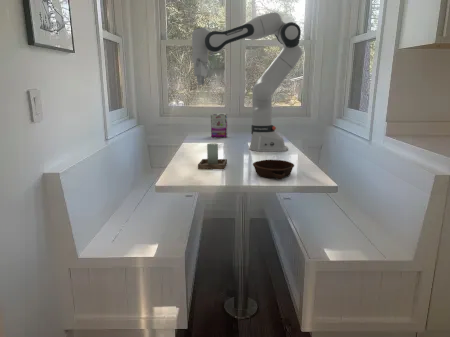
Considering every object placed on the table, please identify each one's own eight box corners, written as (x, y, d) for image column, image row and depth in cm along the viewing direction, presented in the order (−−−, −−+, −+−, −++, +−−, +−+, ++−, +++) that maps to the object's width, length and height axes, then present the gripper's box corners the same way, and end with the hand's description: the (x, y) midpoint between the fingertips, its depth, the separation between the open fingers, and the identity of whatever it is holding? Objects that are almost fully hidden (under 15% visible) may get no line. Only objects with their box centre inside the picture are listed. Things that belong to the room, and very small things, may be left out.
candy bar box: (227, 136, 258) (227, 113, 254) (226, 137, 253) (226, 114, 249) (212, 136, 260) (212, 113, 256) (211, 137, 255) (210, 114, 251)
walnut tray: (226, 163, 174) (226, 159, 173) (223, 169, 162) (223, 164, 162) (202, 163, 175) (202, 158, 175) (198, 169, 163) (197, 164, 163)
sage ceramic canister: (218, 163, 171) (218, 143, 168) (217, 166, 166) (217, 145, 163) (208, 163, 171) (208, 143, 169) (206, 166, 166) (206, 145, 164)
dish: (258, 183, 141) (258, 170, 140) (248, 169, 163) (248, 158, 161) (300, 181, 143) (301, 169, 142) (285, 168, 164) (286, 157, 163)
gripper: (202, 57, 186) (203, 85, 189) (209, 60, 206) (209, 84, 209) (190, 58, 187) (191, 85, 190) (198, 60, 206) (199, 84, 210)
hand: (201, 84), depth 200 cm, fingers open, 8 cm apart
